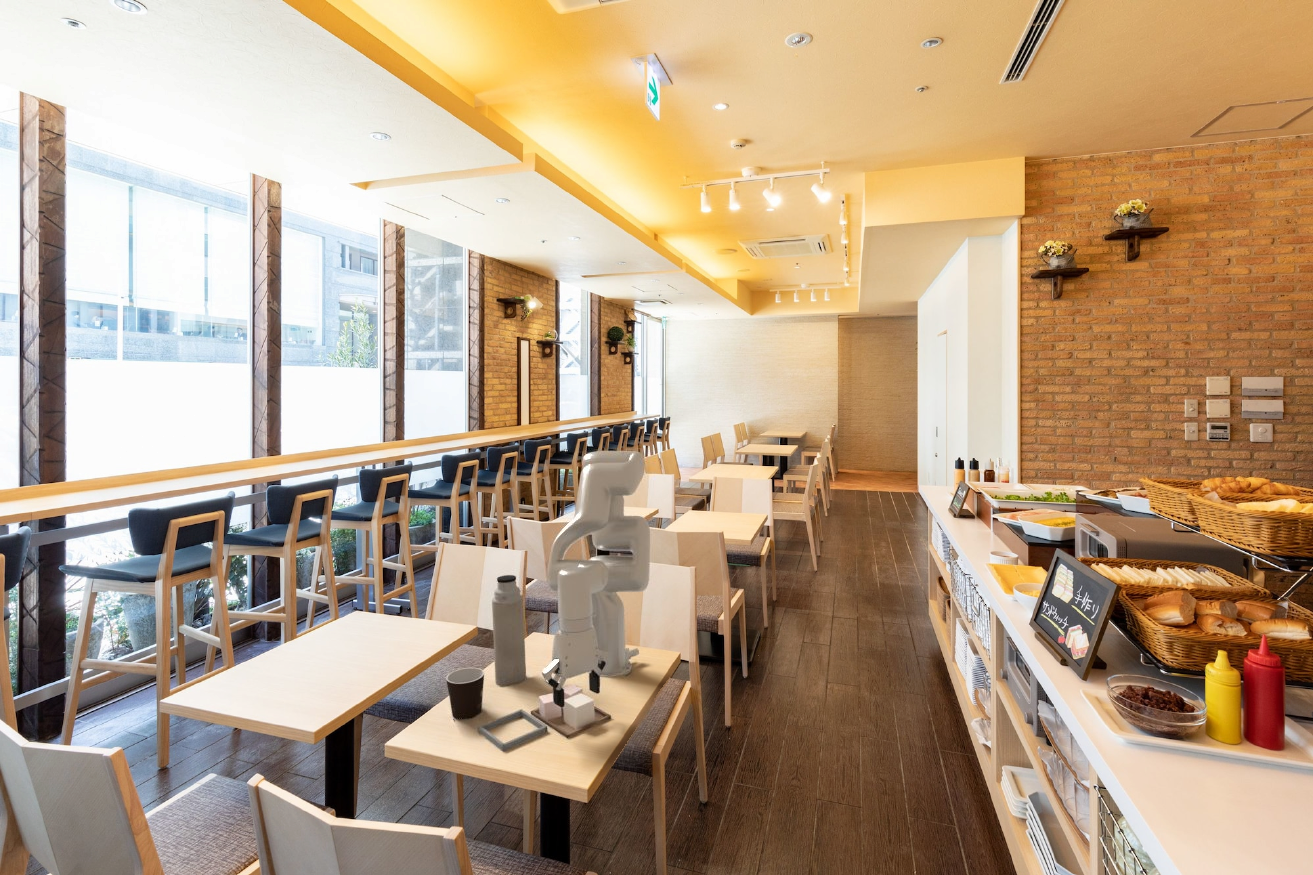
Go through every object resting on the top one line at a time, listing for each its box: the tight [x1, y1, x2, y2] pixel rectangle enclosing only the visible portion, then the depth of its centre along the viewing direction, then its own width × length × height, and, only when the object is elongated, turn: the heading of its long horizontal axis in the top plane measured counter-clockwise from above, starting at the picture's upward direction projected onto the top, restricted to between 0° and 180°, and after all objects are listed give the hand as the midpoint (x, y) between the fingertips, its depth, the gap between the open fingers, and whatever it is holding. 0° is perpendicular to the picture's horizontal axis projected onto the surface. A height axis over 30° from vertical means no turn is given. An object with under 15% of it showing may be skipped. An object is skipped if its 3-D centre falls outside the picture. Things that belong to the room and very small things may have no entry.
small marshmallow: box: [538, 692, 561, 720], centre depth 148 cm, size 4×4×4 cm
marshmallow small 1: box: [562, 684, 584, 708], centre depth 152 cm, size 4×4×4 cm
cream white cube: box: [563, 693, 595, 729], centre depth 145 cm, size 5×5×5 cm
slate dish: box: [477, 708, 548, 752], centre depth 141 cm, size 11×11×2 cm
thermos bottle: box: [491, 574, 527, 688], centre depth 168 cm, size 8×8×28 cm
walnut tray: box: [530, 705, 612, 739], centre depth 147 cm, size 12×15×2 cm
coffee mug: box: [445, 667, 485, 722], centre depth 152 cm, size 12×9×10 cm
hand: (577, 698), depth 143 cm, fingers open, 9 cm apart
